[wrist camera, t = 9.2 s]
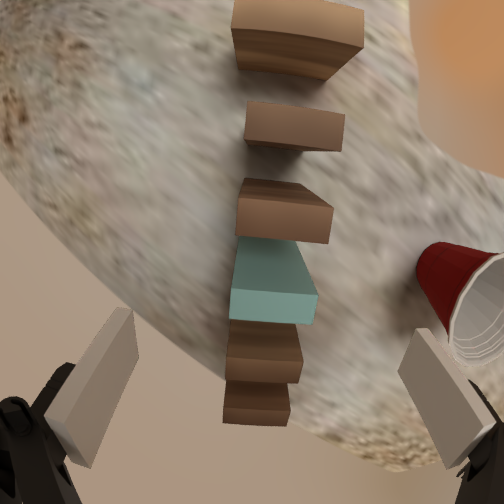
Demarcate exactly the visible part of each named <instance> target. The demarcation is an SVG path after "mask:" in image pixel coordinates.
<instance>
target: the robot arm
mask: <svg viewBox="0 0 504 504" xmlns="http://www.w3.org/2000/svg"><path fill="white" fill-rule="evenodd" d="M138 358H139V355H138V348H137V342H136V334H135V326H134V317H133V310H132V309H125V308H119V307H117V308H116V309H115V311H114V312H113V313H112V315H111V316H110V318H109V319H108V320H107V322H106V323H105V324H104V326H103V327H102V329H101V330H100V331H99V333H98V334H97V336H96V337H95V338H94V340H93V341H92V343H91V344H90V346H89V347H88V348H87V350H86V351H85V353H84V354H83V356H82V357H81V359H80V360H79V362H78V363H77V364H76V365H75V364H72V363H68V362H66V363H65V364H63V365H62V366H60V367H59V368H57V369H56V371H55V372H54V374H53V375H52V377H51V379H50V380H49V381H48V382H47V384H46V386H45V387H44V388H43V389H42V391H41V392H40V394H39V395H38V397H37V398H36V400H35V401H34V403H33V404H32V406H31V407H29V405H28V403H27V402H26V401H25V400H24V399H23V398H20V397H17V396H16V397H8V398H5V399H3V400H2V401H1V402H0V504H22V502H23V504H82V503H81V501H80V498H79V496H78V494H77V492H76V489H75V487H74V485H73V483H72V480H71V478H70V475H69V473H68V470H67V467H66V465H65V463H64V462H63V461H64V459H65V457H66V455H68V457H69V458H70V460H71V461H72V462H73V463H75V464H78V465H81V466H84V467H87V468H89V469H91V466H92V463H93V461H94V459H95V456H96V454H97V451H98V449H99V446H100V444H101V442H102V439H103V437H104V434H105V432H106V429H107V427H108V425H109V423H110V420H111V418H112V416H113V413H114V411H115V409H116V407H117V404H118V402H119V400H120V398H121V395H122V393H123V391H124V389H125V386H126V384H127V382H128V380H129V378H130V376H131V373H132V371H133V369H134V367H135V365H136V363H137V361H138ZM398 373H399V375H400V377H401V379H402V381H403V383H404V384H405V386H406V388H407V390H408V392H409V394H410V396H411V398H412V400H413V402H414V403H415V405H416V407H417V409H418V411H419V413H420V415H421V417H422V419H423V421H424V423H425V425H426V427H427V429H428V431H429V433H430V435H431V437H432V440H433V442H434V444H435V446H436V448H437V450H438V452H439V454H440V457H441V459H442V461H443V463H444V465H445V467H446V469H450V468H452V467H455V466H458V465H460V464H461V463H462V462H463V461H464V460H465V458H466V457H467V456H468V458H469V460H470V461H469V462H468V463H467V465H465V466H464V468H463V469H461V471H459V472H458V474H457V476H456V477H459V476H460V475H461V474H462V473H463V472H464V475H463V476H462V477H461V478H462V482H461V486H460V489H459V492H458V495H457V498H456V502H455V504H504V423H503V422H502V421H501V419H500V418H499V416H498V415H497V413H496V412H495V410H494V409H493V407H492V406H491V405H490V403H489V402H488V401H487V399H486V397H485V396H484V395H482V394H483V393H482V392H481V390H480V389H479V388H478V386H477V385H476V384H474V383H473V382H472V381H471V380H467V379H466V377H465V376H464V374H463V373H462V372H461V370H460V369H459V368H458V366H457V365H456V364H455V362H454V361H453V360H452V358H451V357H450V356H449V354H448V353H447V352H446V351H445V349H444V348H443V347H442V345H441V344H440V343H439V342H438V340H437V339H436V338H435V337H434V335H433V334H432V333H431V332H430V330H429V329H428V328H416V329H415V331H414V334H413V336H412V339H411V341H410V344H409V346H408V349H407V351H406V353H405V356H404V358H403V360H402V362H401V365H400V367H399V369H398Z"/></svg>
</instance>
